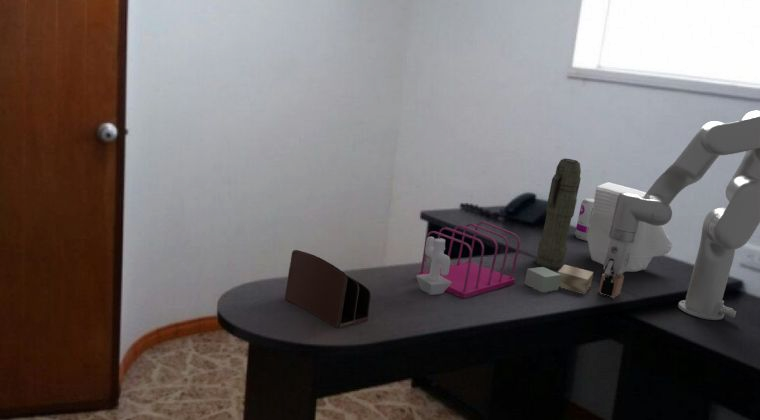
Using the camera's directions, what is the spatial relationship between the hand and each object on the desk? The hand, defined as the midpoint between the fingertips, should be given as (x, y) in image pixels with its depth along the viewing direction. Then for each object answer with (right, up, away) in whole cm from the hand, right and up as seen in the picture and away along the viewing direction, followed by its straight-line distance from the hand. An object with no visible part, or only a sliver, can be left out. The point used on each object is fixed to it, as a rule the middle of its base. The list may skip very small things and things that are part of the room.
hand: (609, 291), depth 226 cm
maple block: (-10, +1, +2) cm, 11 cm away
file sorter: (-44, +3, -7) cm, 45 cm away
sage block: (-21, +1, -2) cm, 21 cm away
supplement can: (+9, +13, +61) cm, 63 cm away
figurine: (-55, +2, -19) cm, 58 cm away
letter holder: (-82, 0, -42) cm, 92 cm away
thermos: (-13, +6, +21) cm, 26 cm away
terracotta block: (0, -1, 0) cm, 1 cm away
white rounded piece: (+12, +5, +32) cm, 34 cm away
